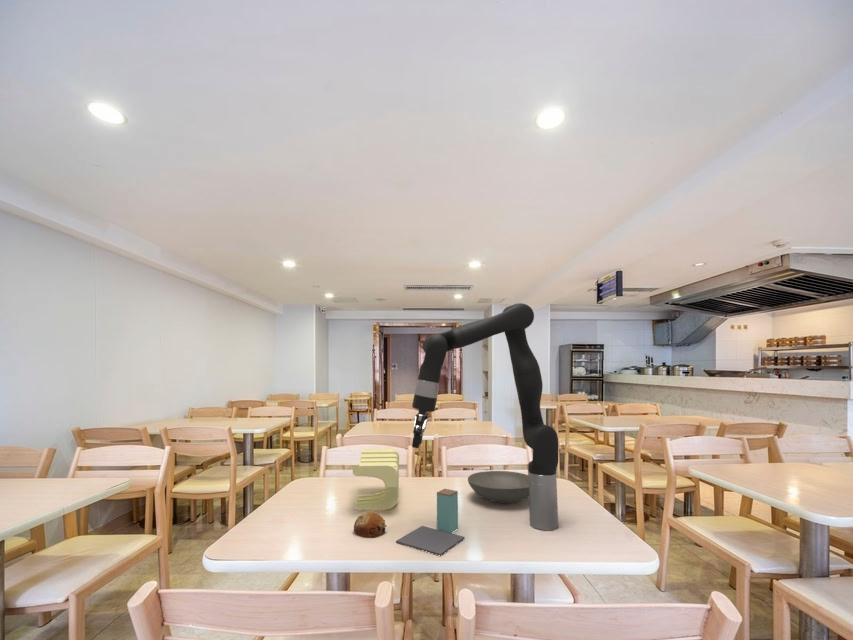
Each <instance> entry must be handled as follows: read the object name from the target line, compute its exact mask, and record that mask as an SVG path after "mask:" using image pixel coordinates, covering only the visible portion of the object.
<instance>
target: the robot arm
mask: <svg viewBox="0 0 853 640" xmlns="http://www.w3.org/2000/svg"><path fill="white" fill-rule="evenodd" d="M534 320H535V313H534V310H533V309H532V307H530V306H529V305H528V304H526V303H521V302H520V303H518V302H517V303H513V304H511V305H509V306H507V307H505V308H504V309H503V310H502V312H500V313H498V314H495V315H493V316H490V317H486V318H482V319H479V320H476V321H472V322H468V323H466V324H462V325H459V326H456V327H454V328H452V329H450V330H447V331H443V332H439V333H437V334H433V335H430V336H427V337H426V338H425V339H424V341H423V343H422V349H423V352H424V358H423V361H422V363H421V364H420V367H419V372H418V378H417V383H416V385H415V388H414V394H413V400H412V405H411V407H412V409H415V410H418V413H417V414H415V417H414V424H413V431H412V433H413V438H412V442H411V447H412V448H415V449H419V448H420V446H421V444H422V442H423V437H424V436H423V435H424V433H425V430H426V428H427V424H428V422H429V421H428V420H429V413H428V412H431V413H434V412H435V411H436V406H437V400H438V395H439V385H440V381H441V374H442V372H441V371H442V367H443V365H444V362H445V359H446V356H447V352H449V351H453V350H455V349H462V348H465V347H467V346H470V345H472V344H475V343H478V342H481V341H483V340H485V339H489V338H491V337H493V336H495V335H499V334H503V333H504V335H505V339H506V342H507V345H508V351H509V356H510V361H511V368H512V374H513V377H514V379H513V380H514V384H515V389H516V393H517V397H518V398H517V399H518V403H519V408H520V413H521V425H522V434H523V439H524V442H525V444H526V445H527V447H529V448H530V449H532V460H531V461H529V462H528V465H527V475H528V480H529V497H528V507H529V508H528V510H529V525H530V526H531V527H532V528H534V529H537V530H541V531H554V530H556V529H558V528H559V509H558V508H559V506H558V504H559V503H558V483H557V482H558V481H557V468H558V465H559V437H558V433H557V431H556V430H555V428H553V427H552V426H551V425H547V424H544V423H545V422H544V419H543V415H542V410H541V400H542V395H543V394H542V393H543V378H542V374H541V369H540V365H539V362H538V360H537V358H536V356H535V355H534V353H533V351H532V349H531V348H530V346H529V342H528V339H527V334H526V333H527V332H526V329H528V328H529V327H530V326H531V325H532V324H533V322H534Z"/></svg>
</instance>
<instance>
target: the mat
mask: <svg viewBox="0 0 853 640" xmlns="http://www.w3.org/2000/svg"><path fill="white" fill-rule="evenodd" d="M464 538H465V539H466V537H465V536H463V535H459V534H456V533H448V532H445V531H441V530H437V528H433V527H428V526H425V525H421V526H419V527H417V528H416V529H414V530H412V531H410V532H409V533H407V534H405V535H403V536H402V537H400V538H399V539H396V540H395V543H396V544H398V543H399V544H398V545H403V546H405V545H406V546H405V547H408V546H409V547H408V548H411V547H413V548H412V549H415V548H416V549H415V550H418V549H420V550H419V551H421V550H424V551H423V552H425V551H427V552H426V553H428V552H430V553H429V554H431V553H433V554H432V555H435V554H437V555H436V556H438V555H440V556H439V557H442V556H444V553H445V552H446V553H448V552H449V551H450V550H451V548H452V547H453V548H454V547H456V546H457V545H458V544H460V543H461V542H463V541H464V540H465V539H464ZM463 539H464V540H463ZM460 541H461V542H460ZM459 542H460V543H459ZM457 543H458V544H457ZM456 544H457V545H456ZM455 545H456V546H455ZM453 548H452V549H453ZM449 549H450V550H449ZM448 550H449V551H448ZM446 553H445V554H446ZM441 555H442V556H441Z"/></svg>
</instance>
